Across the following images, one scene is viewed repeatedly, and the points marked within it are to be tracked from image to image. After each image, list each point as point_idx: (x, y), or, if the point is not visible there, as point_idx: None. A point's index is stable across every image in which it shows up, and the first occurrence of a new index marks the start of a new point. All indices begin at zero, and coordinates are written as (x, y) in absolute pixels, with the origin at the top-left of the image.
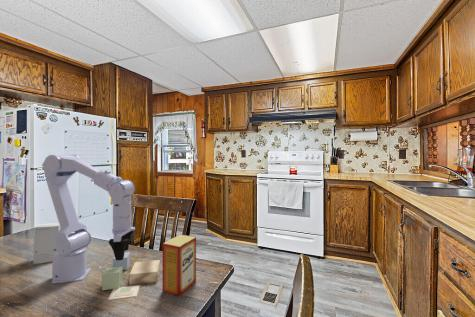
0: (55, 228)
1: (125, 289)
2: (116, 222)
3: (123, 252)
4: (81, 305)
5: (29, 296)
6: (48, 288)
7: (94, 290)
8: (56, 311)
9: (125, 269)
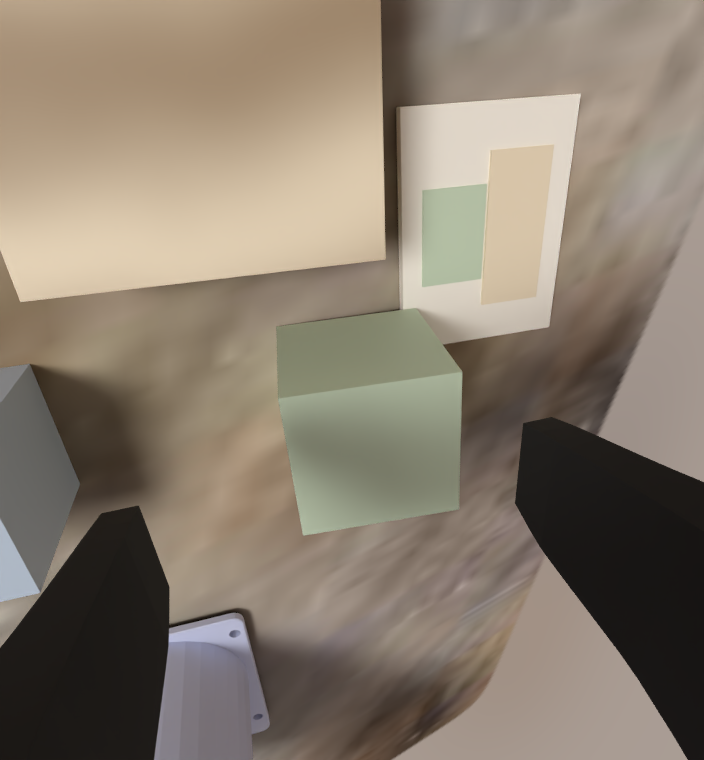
0: None
1: (455, 239)
2: None
3: (693, 483)
4: None
5: (377, 713)
6: (314, 698)
7: None
8: None
9: (34, 386)
